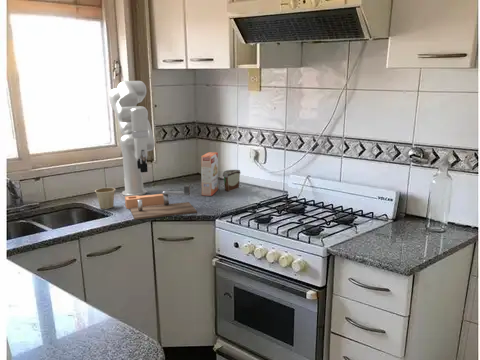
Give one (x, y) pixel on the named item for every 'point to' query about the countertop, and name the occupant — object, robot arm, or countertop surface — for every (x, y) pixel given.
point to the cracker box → (209, 173)
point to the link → (144, 200)
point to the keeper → (185, 192)
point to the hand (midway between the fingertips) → (142, 170)
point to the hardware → (166, 202)
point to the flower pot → (105, 197)
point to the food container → (231, 179)
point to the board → (163, 210)
